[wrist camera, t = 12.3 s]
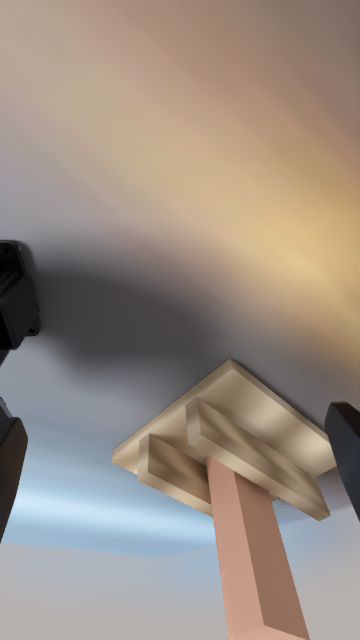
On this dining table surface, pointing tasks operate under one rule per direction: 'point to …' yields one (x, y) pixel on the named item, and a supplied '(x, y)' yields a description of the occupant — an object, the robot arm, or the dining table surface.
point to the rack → (231, 443)
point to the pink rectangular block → (252, 560)
